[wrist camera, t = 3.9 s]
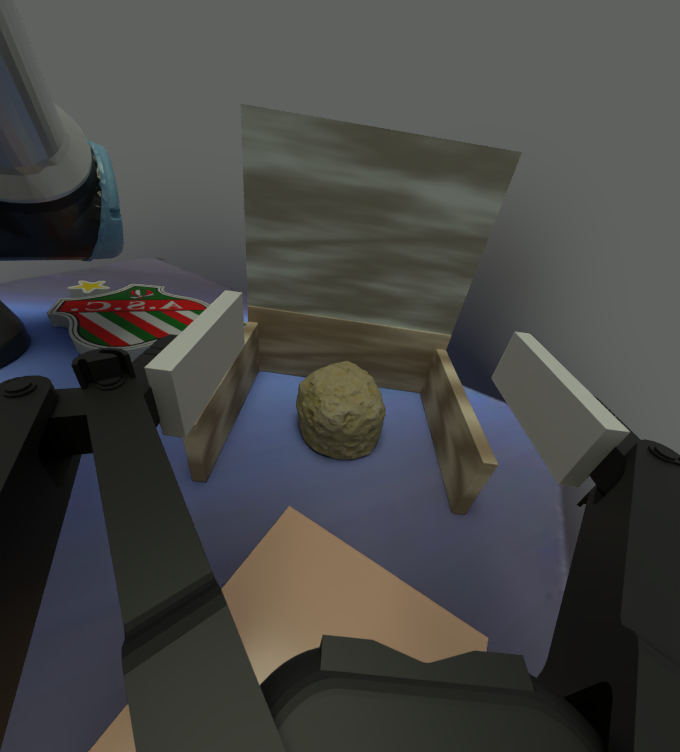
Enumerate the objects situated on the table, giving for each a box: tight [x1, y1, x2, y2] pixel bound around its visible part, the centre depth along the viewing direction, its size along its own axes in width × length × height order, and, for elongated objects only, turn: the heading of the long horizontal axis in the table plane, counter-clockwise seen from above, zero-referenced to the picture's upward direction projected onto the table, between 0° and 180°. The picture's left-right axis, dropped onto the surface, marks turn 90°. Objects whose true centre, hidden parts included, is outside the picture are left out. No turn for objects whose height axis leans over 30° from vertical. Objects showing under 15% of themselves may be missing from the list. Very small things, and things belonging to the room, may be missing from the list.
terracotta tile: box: [89, 506, 488, 752], centre depth 17 cm, size 16×16×1 cm
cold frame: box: [183, 104, 521, 515], centre depth 27 cm, size 19×24×27 cm
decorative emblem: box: [47, 281, 247, 362], centre depth 47 cm, size 19×2×30 cm
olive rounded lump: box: [296, 361, 386, 460], centre depth 33 cm, size 9×10×10 cm
